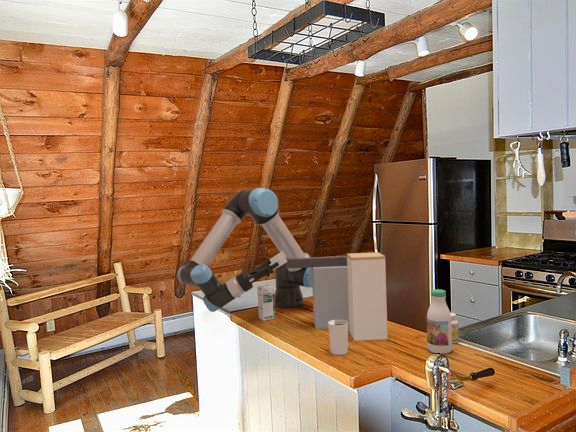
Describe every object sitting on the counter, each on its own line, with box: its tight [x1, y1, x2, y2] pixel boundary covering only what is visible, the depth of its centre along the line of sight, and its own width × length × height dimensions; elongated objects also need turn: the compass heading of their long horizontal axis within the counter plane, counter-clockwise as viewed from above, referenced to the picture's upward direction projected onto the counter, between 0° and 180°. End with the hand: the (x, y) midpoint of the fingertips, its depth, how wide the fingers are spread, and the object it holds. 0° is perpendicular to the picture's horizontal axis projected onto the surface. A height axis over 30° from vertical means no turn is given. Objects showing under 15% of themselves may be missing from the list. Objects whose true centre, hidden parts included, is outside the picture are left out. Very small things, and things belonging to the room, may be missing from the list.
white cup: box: [328, 320, 349, 356], centre depth 151 cm, size 7×7×10 cm
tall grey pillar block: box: [312, 266, 349, 330], centre depth 182 cm, size 9×14×24 cm, turn 92°
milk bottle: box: [426, 288, 453, 355], centre depth 149 cm, size 8×8×20 cm
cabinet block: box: [346, 251, 389, 342], centre depth 167 cm, size 11×12×30 cm
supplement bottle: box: [450, 312, 459, 344], centre depth 158 cm, size 5×5×10 cm
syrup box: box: [256, 283, 276, 322], centre depth 195 cm, size 6×6×14 cm
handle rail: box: [286, 255, 347, 269], centre depth 181 cm, size 4×26×4 cm, turn 92°
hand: (285, 255), depth 180 cm, fingers open, 13 cm apart
